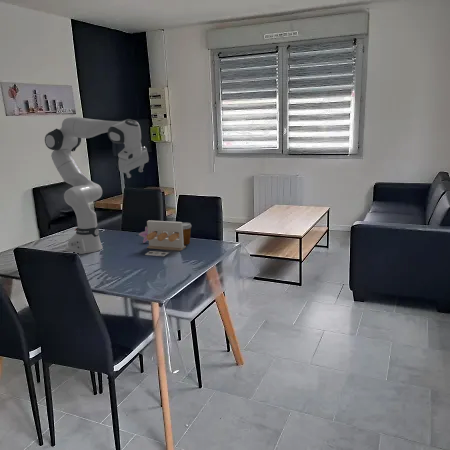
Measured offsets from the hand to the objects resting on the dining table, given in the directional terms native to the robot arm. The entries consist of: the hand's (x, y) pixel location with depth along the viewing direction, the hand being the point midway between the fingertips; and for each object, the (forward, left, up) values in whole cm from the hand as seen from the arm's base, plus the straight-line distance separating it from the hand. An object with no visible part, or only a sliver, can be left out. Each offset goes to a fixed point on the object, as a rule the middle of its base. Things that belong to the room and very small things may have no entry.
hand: (135, 174), depth 233 cm
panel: (+10, +11, -45) cm, 48 cm away
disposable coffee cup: (+17, +22, -45) cm, 53 cm away
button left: (+3, +7, -39) cm, 40 cm away
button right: (+17, +7, -39) cm, 43 cm away
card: (+10, -1, -45) cm, 46 cm away
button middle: (+10, +7, -39) cm, 41 cm away
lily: (-6, +20, -45) cm, 50 cm away
